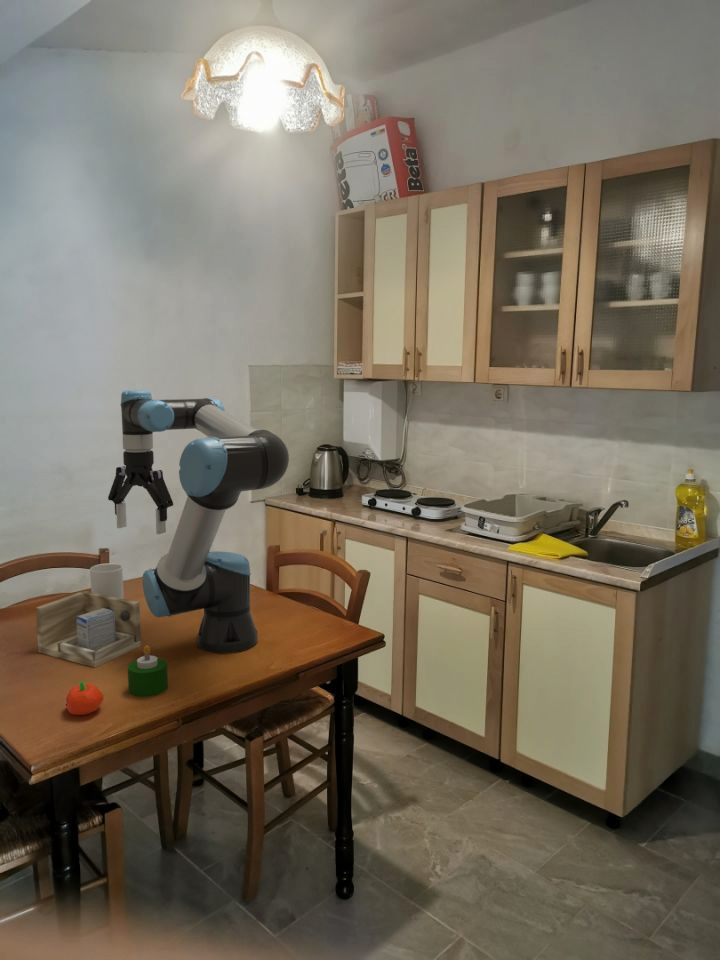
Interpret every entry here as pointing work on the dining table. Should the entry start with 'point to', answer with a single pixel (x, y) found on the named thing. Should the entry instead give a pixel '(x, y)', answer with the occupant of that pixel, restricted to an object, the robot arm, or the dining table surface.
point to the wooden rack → (62, 627)
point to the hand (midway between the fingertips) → (141, 530)
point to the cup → (107, 579)
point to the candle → (147, 675)
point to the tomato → (83, 699)
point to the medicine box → (96, 629)
